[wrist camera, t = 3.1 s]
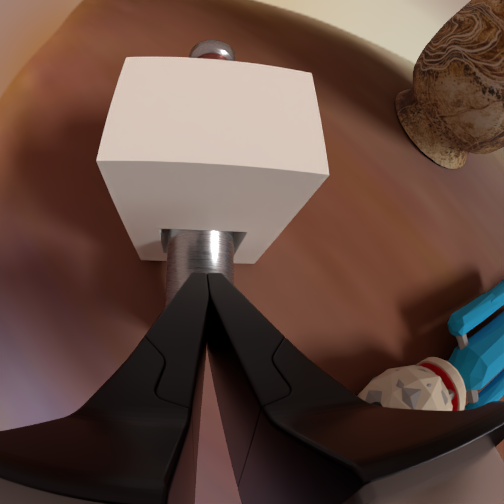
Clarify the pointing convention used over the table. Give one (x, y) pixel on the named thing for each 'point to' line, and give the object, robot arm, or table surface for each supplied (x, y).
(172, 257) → the metal cylinder
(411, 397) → the toy
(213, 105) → the white block
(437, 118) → the vase
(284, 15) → the table surface
